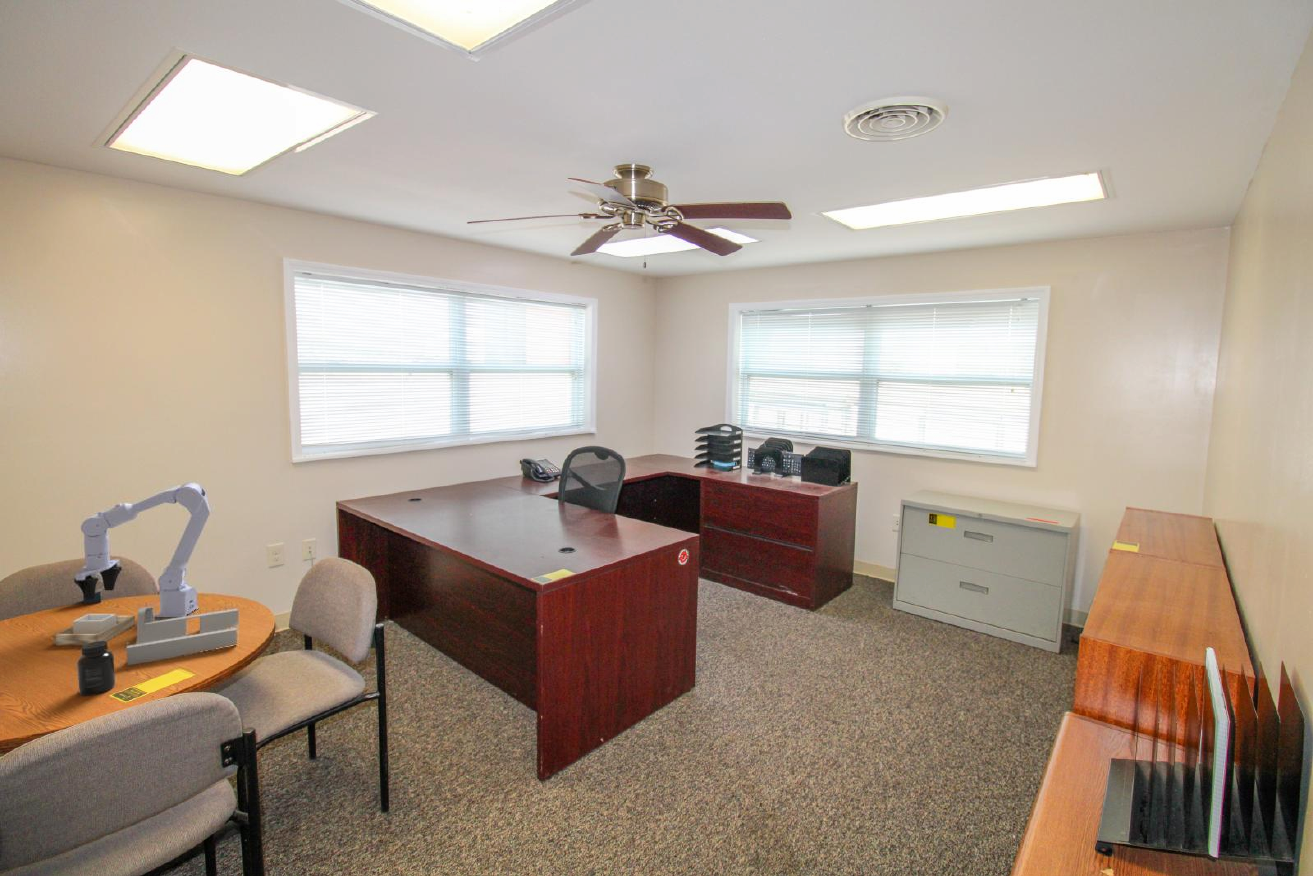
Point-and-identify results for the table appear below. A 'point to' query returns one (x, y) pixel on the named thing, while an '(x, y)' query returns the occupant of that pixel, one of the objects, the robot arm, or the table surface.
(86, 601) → the watch
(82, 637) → the shallow wooden tray
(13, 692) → the table surface
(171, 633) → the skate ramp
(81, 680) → the supplement bottle
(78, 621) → the small crate
